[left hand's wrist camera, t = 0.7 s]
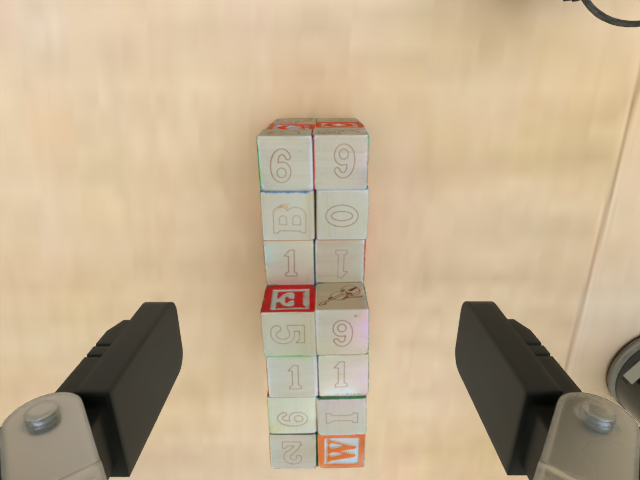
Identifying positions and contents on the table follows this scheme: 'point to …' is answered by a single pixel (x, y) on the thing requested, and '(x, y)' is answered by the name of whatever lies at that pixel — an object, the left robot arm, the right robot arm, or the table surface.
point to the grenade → (606, 18)
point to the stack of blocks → (315, 290)
